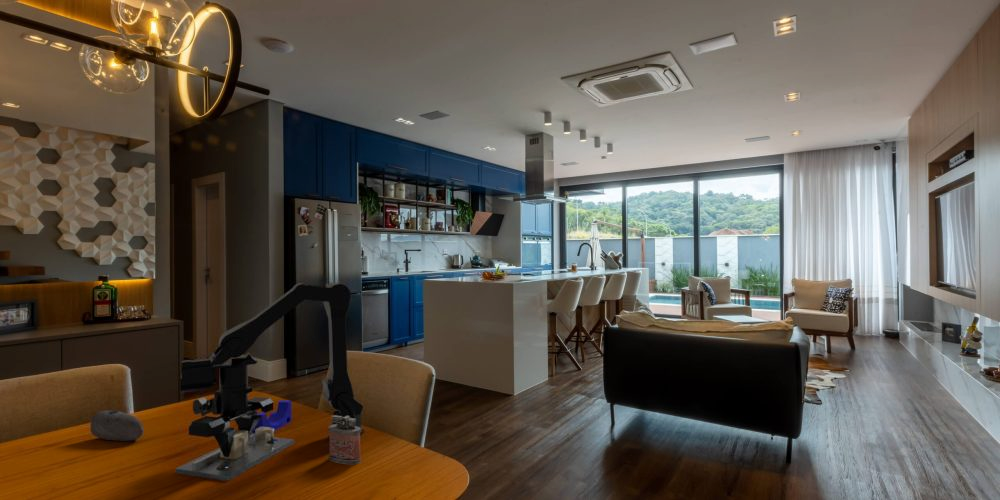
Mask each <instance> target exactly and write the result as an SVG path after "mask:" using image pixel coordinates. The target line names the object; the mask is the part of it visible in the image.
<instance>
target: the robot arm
mask: <svg viewBox="0 0 1000 500" xmlns="http://www.w3.org/2000/svg"><path fill="white" fill-rule="evenodd" d="M351 296H352V293H351V290H350V288H349V287H348V286H347V285H345V284H342V283H337V282H329V283H328V284H326V285H319V284H317V285H316V284H305V283H302V282H300V283H299V282H298V283H297V284H295V285H293V287H292V288H291V289H289V290H288V291H287V292H286V293H284V294H283V295H281V296H280V297H279V298H278V299H276V300H275V301H273V302H272V303H270V304H269V305H268V306H267V307H266V308H264V309H263V310H262V311H260V312H259V313H258V314H256V315H255V316H254V317H252V318H250V319H248V320H246V321H244V322H242V323H239V324H237V325H235V326H233V327H232V328H230V329H228V330H226V331H224V332H223V333H222V334H221V336H220V337H219V341H218V346H217V347H216V349H215V350H214V351H213V352H212V353H211V354H210V356H209V358H203V359H194V360H192V359H187V360H186V359H185V360H182V361H181V373H180V384H179V385H180V387H179V388H180V393H189V392H196V391H203V390H210V389H211V387H212V386H214V384H217V369H219V390H216V391H215V392H214V394H213V396H214V397H213V398H210V399H206V398H205V397H200V398H197V399H195V400H193V402H192V410H193V414H195V415H196V416H197V415H199V414H200V416H201V417H200V418H197V419H195V420H193V421H191V422H190V424H189V425H188V436H195V437H202V438H212V437H214V439H215V440H216V443H217V444H218V446H219V447H218V448H220V449H221V451H222V453H223V455H224V457H229V454H230V451H231V446H232V441H233V436H234V431H235V429H236V428H235V427H231V422H232V421H234V422H235V423H236V424H237V430H245V431H248V440H249V438H250V436H251V434H252V432H253V430H254V428H255V426H256V425H257V423H258V421H259V419H261V418H262V415H257V413H258V410H260V411H261V413H266V414H267V413H268V412H270V411H273V410H274V401H273V400H272V399H271V397H270V398H269V397H260V396H259V397H258V396H255V397H252V398H250V399H249V393H252V392H253V387H252V386H249V369H248V368H249V365H256V364H257V363H258V361H257V359H256V358H255V357H253V356H252V355H251V353H250V352H247V351H248V350H249V349H250V348H251V347H252V346H253V345H254V344H255V343H256V341H257V340H258V339H259V338H260V336H261V335H262V334H263V333H264V332H265V331H266V330H268V328H270V327H271V326H273V325H274V324H275V323H277V322H278V321H279V320H280V319H281V318H283V317H285V315H287V314H289V312H291V311H292V310H294V308H296V307H297V306H298V305H300V304H302V303H303V301H306V300H308V301H317V302H323V307H324V309H325V313H326V316H327V319H328V347H329V348H328V349H329V350H328V352H329V374H328V378H327V379H324V378H323V379H322V380H321V382H322V386H323V387H322V388H323V391H322V393H321V394H322V396H323V397H324V398H325V400H326V401H327V402H328V403H329V405H330V406H331V407H332V408H333V409H335V411H333V416H334V415H336V416H342V417H345V416H350V418H354V419H356V423H355V426H357V427H360V428H361V432H360V435H362V434H363V433H365V432H366V431H365V429H364V428H363V429H362V411H363V408H364V405H362V403H360V402H359V400H357V399H356V398H355V396H354V390H353V385H352V383H351V379H350V376H349V373H348V351H347V350H348V349H347V319H346V318H347V316H348V312H349V308H350V305H351ZM246 352H247V353H246ZM244 354H245V355H244ZM243 355H244V356H243ZM229 360H230V361H229ZM208 414H212V415H213V416H208ZM218 415H219V416H218ZM215 416H217V417H215ZM333 424H337V423H336V422H332V421H331V425H333Z"/></svg>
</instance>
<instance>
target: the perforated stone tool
mask: <svg viewBox="0 0 1000 500" xmlns="http://www.w3.org/2000/svg"><path fill="white" fill-rule="evenodd" d="M89 430H90V433H91V434H92V435H93V436H94V437H96V438H99V439H102V440H105V441H114V442H115V441H116V442H117V441H120V442H130V441H137V440H139V439H140V438H141V437H142V436H143V434H144V431H145V429H144V425H143V423H142V422H141V421H140V419H139V418H137V417H136V416H134V415H131V414H129V413H126V412H124V411H119V410H109V409H104V410H100V411H97V412H96V413H94V414H93V415H92V417H91V420H90V424H89Z"/></svg>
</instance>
